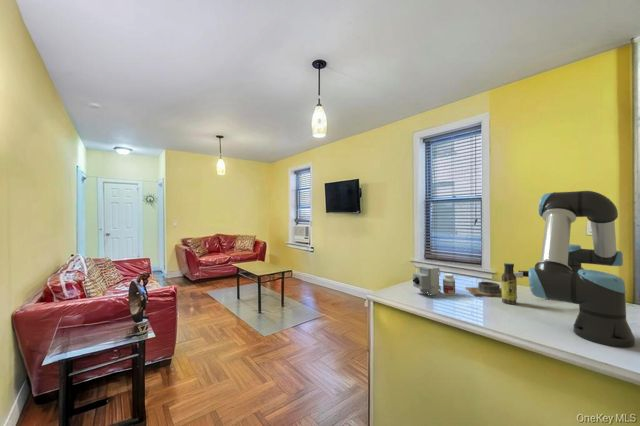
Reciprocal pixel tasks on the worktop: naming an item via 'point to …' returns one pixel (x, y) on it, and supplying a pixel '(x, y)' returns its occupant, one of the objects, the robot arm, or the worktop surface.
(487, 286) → the bottle holder
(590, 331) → the robot arm
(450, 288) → the pill bottle
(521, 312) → the worktop surface
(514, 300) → the sauce bottle
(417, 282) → the circuit breaker
